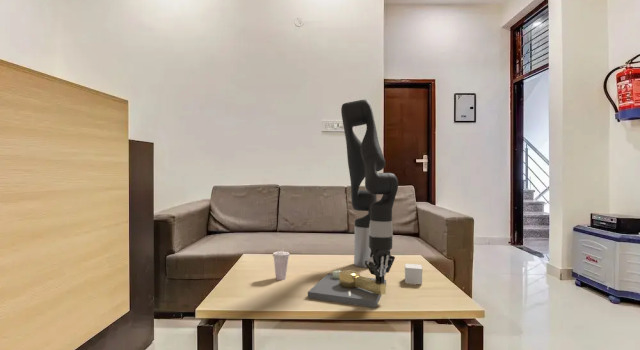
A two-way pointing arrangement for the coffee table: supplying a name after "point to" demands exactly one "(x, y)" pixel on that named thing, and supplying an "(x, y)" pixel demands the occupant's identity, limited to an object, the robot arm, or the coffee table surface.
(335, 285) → the grey base plate
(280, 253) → the smoothie
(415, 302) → the coffee table surface
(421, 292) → the coffee table surface
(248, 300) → the coffee table surface
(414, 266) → the beige cube
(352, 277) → the tan handled round piece
